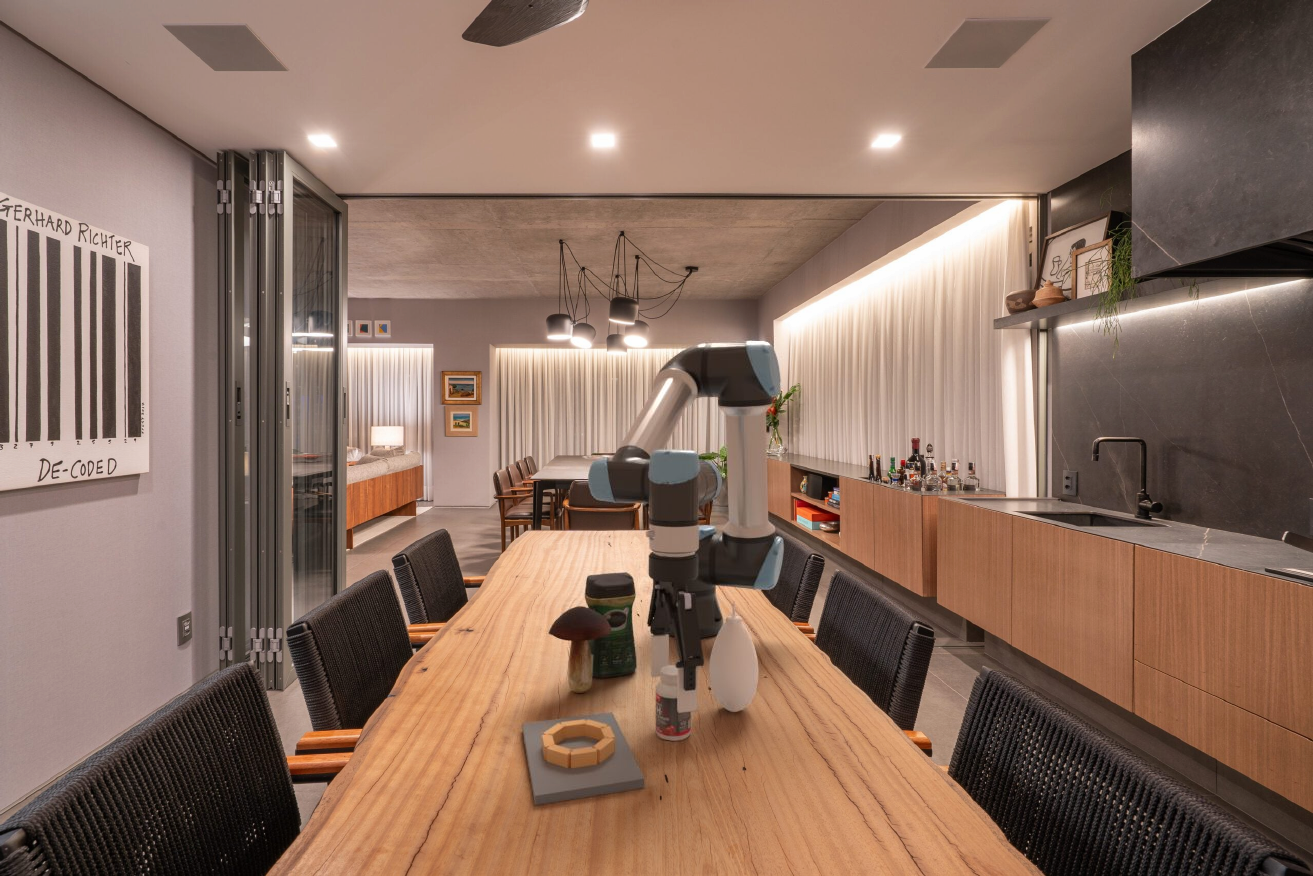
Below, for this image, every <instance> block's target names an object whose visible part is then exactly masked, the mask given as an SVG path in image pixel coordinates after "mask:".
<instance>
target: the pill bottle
mask: <svg viewBox="0 0 1313 876" xmlns="http://www.w3.org/2000/svg"><path fill="white" fill-rule="evenodd" d="M675 665H676V664H672V665H671V664H669V666H664V667H662V668H661V670H660V677H659V679H660V681H659V682H658V683H657V685H656V686H655V734H656V735H657V737H659V738H660V739H663V740H665V741H673V742H674V741H675V742H677V741H683V740H685V739H686V738H687V739H688V737H690V736H691V732H692V711H690V712H682V713H679V712H678V711H677V668H676V666H675Z"/></svg>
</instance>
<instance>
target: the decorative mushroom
mask: <svg viewBox="0 0 1313 876" xmlns="http://www.w3.org/2000/svg"><path fill="white" fill-rule="evenodd" d="M611 631H612V629H611V626H610V625H609V623H608V621H607V619H606V618H605V617H604V616H602V615H601V614H599V613H598V612H596V611H594V610H592V609H589V608H588V607H586V606H583V605H581V606H580V605H578V606H575V607H572V608H569V609H567V610H566V611H564V612H563V613H562V614H561V615H560V616H559V617H558V618H557V619H556V620H555V621H553V623H552V624H551V626H550V628H549V631H548V634H549V635H551V636H553V637H555V638H557V639H559V640H563V641H570V647H569V657H568V672H567V679H568V680H567V682H568V683H567V684H568V687H569V688H570V689H571V691H572V692H574V693H578V694H579V693H580V694H582V693H585V692H587V691H588V690H589V689H590V688H591V687H592V683H593V675H592V659H591V652H590V646H589V640H593V639H598V638H601V637H604V636H606V635H609V634H610V633H611Z"/></svg>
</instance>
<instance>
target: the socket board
mask: <svg viewBox="0 0 1313 876" xmlns="http://www.w3.org/2000/svg"><path fill="white" fill-rule="evenodd" d="M615 717H616V716H615V715H614V713H613V712H612V711H610V712H609V711H608V712H603V713H601V712H600V713H595V714H586V715H579V716H578V715H577V716H572V717H571V716H569V717H564V718H563V717H562V718H556V719H555V718H554V719H547V720H546V719H545V720H539V721H532V722H524V723H521V727H522V728H521V729H522V730H521V732H522V736H523V737H522V738H523V743H524V748H525V749H524V750H525V755H526V761H527V765H528V772H529V778H530V785H531V789H532V790H531V791H532V795H533V802H534V806H539V805H546V804H552V803H560V802H564V801H571V800H577V799H583V798H588V797H589V798H590V797H595V796H602V795H607V794H608V795H609V794H614V793H615V794H616V793H621V792H626V791H632V790H633V791H634V790H638V789H639V790H640V789H645V788H646V787H645V786H646V785H645V781H646V779H645V776H644V774H643V772H642V770H641V769H640V766H639V764H638V763H637V760H636V758H635V756H634V754H633V751H632V750H631V748H630V746H629V744H628V742H627V739H626V738H625V736H624V734H623V732H622V730H621V727H620V725H619V723H618V722H617V720H616V718H615Z"/></svg>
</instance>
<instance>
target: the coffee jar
mask: <svg viewBox="0 0 1313 876" xmlns="http://www.w3.org/2000/svg"><path fill="white" fill-rule="evenodd" d="M636 595H637V592H636V587H635V581H634V578H633V576H632V574H630V573H629V572H627V571H624V572H612V573H609V572H608V573H599V574H590V575H587V577H586V580H585V590H584V600H585V602H586V605H587V608H589V609H592V610H594V611H596V612H598V613H599V614H601V615H602V616H604V617H605V618H606V619H607V621H608V623H609V625H610V626H611V629H612V631H611V633H610V634H609V635H606V636H604V637H601V638H598V639H593V640H589V646H590V652H591V659H592V677H595V678H610V677H620V676H624V675H629V674H630V675H631V674H632V673H634V672H635V671H636V669H637V665H638V664H637V663H638V662H637V661H638V660H637V652H636V643H635V634H634V625H633V605H634V603H635V600H636V597H637V596H636Z"/></svg>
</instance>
